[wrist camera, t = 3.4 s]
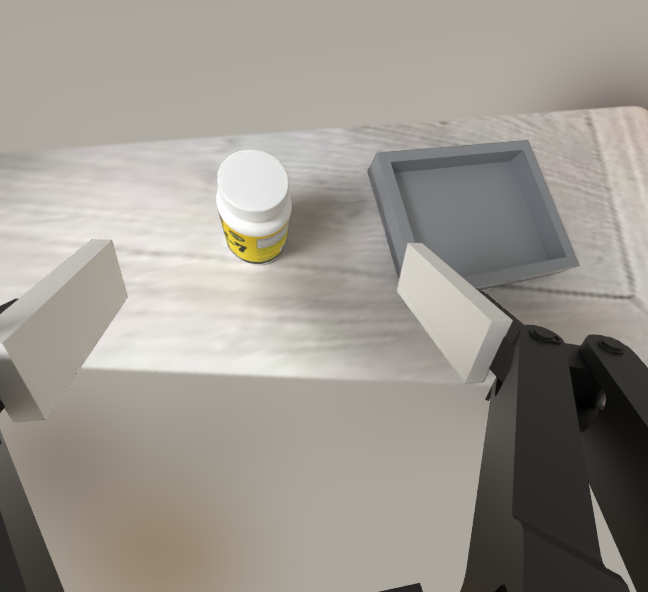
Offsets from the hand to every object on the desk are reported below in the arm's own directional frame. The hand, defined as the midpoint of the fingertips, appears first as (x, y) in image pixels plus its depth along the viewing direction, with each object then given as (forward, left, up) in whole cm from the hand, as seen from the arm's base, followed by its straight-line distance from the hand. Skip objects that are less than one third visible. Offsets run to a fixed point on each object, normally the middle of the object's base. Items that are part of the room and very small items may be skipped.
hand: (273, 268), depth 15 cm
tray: (+4, +20, -10) cm, 22 cm away
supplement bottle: (-5, +3, -10) cm, 12 cm away
